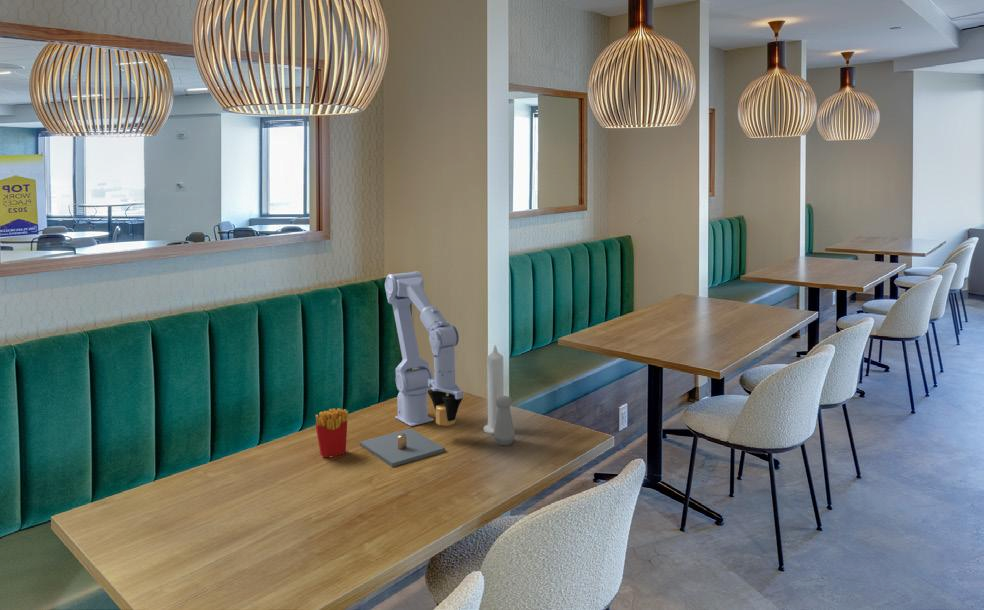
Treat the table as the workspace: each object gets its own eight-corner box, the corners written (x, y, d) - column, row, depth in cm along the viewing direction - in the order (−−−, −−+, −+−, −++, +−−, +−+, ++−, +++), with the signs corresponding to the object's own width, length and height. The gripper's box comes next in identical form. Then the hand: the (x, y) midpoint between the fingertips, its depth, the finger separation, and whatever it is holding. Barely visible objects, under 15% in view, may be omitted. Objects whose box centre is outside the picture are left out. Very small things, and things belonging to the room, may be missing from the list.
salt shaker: (514, 446, 200) (514, 400, 197) (493, 446, 200) (493, 400, 197) (514, 438, 206) (514, 393, 203) (493, 438, 206) (493, 393, 203)
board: (359, 445, 202) (359, 441, 202) (410, 431, 211) (410, 428, 211) (392, 466, 188) (392, 463, 188) (445, 451, 197) (445, 447, 197)
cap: (432, 421, 205) (432, 406, 204) (448, 417, 208) (448, 402, 207) (443, 426, 201) (442, 411, 200) (458, 422, 204) (458, 407, 203)
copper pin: (396, 449, 198) (395, 435, 197) (403, 447, 199) (403, 433, 198) (400, 452, 196) (400, 438, 195) (408, 450, 197) (408, 435, 196)
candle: (479, 427, 214) (478, 343, 209) (501, 423, 217) (501, 340, 212) (489, 436, 208) (488, 349, 203) (512, 431, 211) (512, 346, 205)
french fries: (320, 459, 193) (317, 415, 191) (316, 454, 196) (313, 411, 194) (351, 453, 197) (349, 410, 194) (347, 448, 200) (345, 405, 198)
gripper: (418, 366, 205) (419, 413, 208) (447, 378, 194) (448, 428, 196) (439, 361, 209) (440, 407, 212) (469, 373, 198) (469, 422, 201)
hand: (445, 417), depth 205 cm, fingers closed on cap, 5 cm apart
